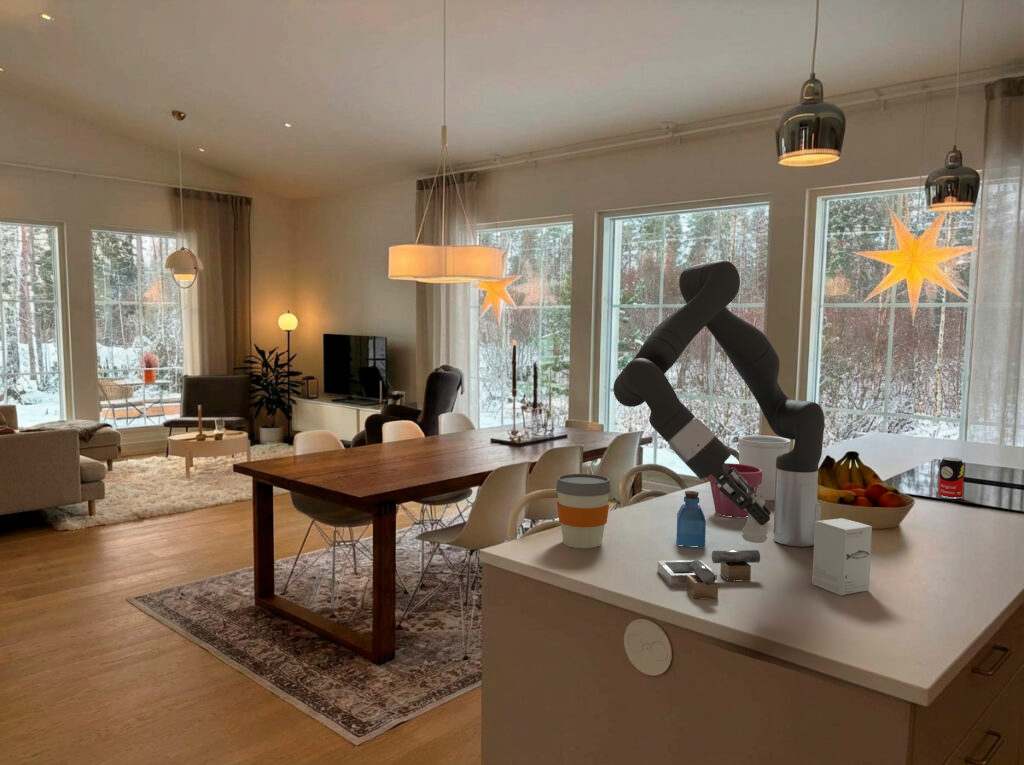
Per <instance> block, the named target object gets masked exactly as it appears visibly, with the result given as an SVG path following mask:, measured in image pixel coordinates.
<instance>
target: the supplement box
mask: <svg viewBox="0 0 1024 765" xmlns="http://www.w3.org/2000/svg"><path fill="white" fill-rule="evenodd" d="M872 531H873V526H872V525H869V524H865V523H862V522H857V521H855V520H850V519H847V518H840V517H839V518H833V519H822V520H820V521H815V531H814V545H813V553H812V554H813V556H812V558H813V561H812V580H811V584H812V585H815V586H817V587H819V588H821V589H823V590H826V591H827V592H831V593H834V594H836V595H838V596H841V597H842V596H845V595H849V594H855V593H861V592H868V591H869V590H870V580H871V579H870V575H871V556H872V555H871V554H872V534H873V532H872Z"/></svg>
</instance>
